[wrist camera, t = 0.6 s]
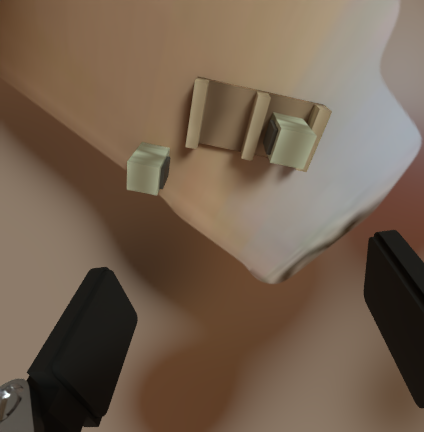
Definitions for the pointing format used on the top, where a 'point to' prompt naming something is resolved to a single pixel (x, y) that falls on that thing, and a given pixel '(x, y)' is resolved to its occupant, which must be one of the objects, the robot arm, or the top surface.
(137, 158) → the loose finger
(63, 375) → the robot arm
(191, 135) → the rail board
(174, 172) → the top surface
